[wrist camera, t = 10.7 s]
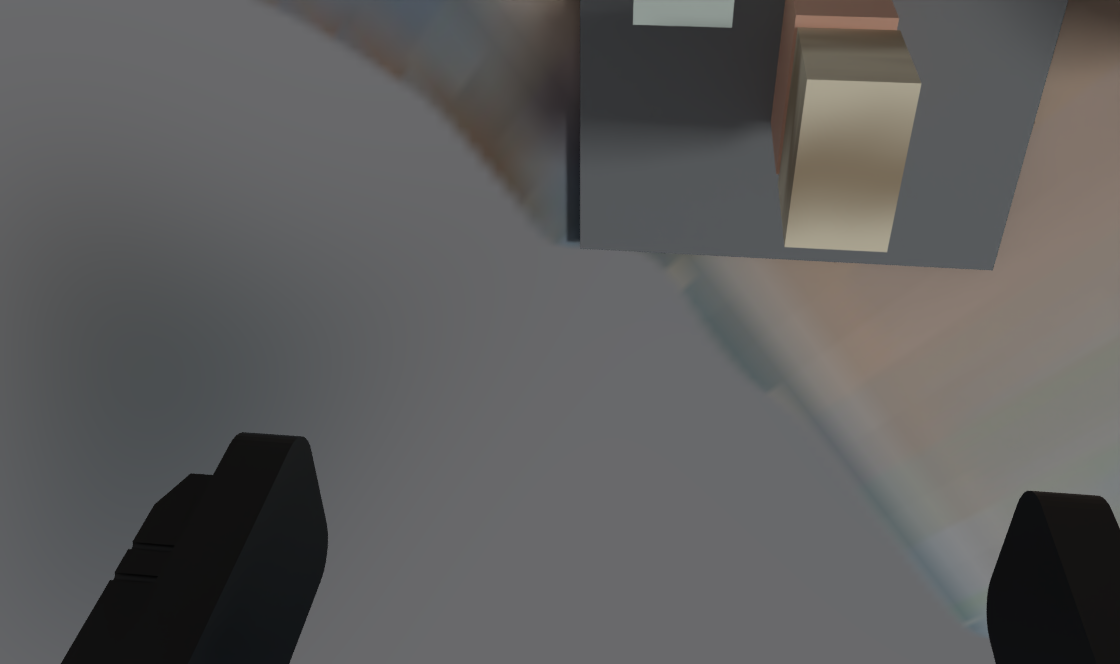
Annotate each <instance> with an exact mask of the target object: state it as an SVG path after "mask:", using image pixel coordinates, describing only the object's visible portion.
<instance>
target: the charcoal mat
mask: <svg viewBox="0 0 1120 664" xmlns="http://www.w3.org/2000/svg"><path fill="white" fill-rule="evenodd" d="M892 2H893V4H894V7H895V9H896V12H897V14H898V16H899V22H898V27H897V30H900V31H901V34H902V36H903V39H904V41H905V44H906V46H907V49H908V51H909V53H910V56H911V58H912V61H913V63H914V66H915V68H916V71H917V73H918V76H919V78H920V81H921V83H922V84H921V89H920V94H919V98H918V103H917V108H916V113H915V118H914V123H913V128H912V133H911V137H910V142H909V147H908V152H907V157H906V162H905V167H904V172H903V177H902V181H901V186H900V191H899V196H898V201H897V206H896V211H895V216H894V220H893V225H892V230H891V235H890V240H889V245H888V250H887V252H871V251H852V250H832V249H813V248H793V247H784V238H783V228H782V219H781V209H780V200H779V190H778V179H779V174H776V168H775V158H774V149H773V139H772V129H771V116H772V108H773V99H774V91H775V82H776V74H777V65H778V57H779V48H780V40H781V31H782V23H783V14H784V6H785V0H734V11H733V22H732V28H726V27H693V26H660V25H633V4H634V0H580V249H599V250H618V251H637V252H656V253H674V254H693V255H712V256H731V257H750V258H769V259H788V260H807V261H826V262H845V263H864V264H883V265H902V266H921V267H940V268H959V269H978V270H993V267H994V264H995V260H996V257H997V253H998V250H999V246H1000V242H1001V239H1002V235H1003V232H1004V228H1005V225H1006V221H1007V217H1008V214H1009V210H1010V207H1011V203H1012V199H1013V196H1014V192H1015V189H1016V185H1017V182H1018V178H1019V174H1020V171H1021V167H1022V164H1023V160H1024V157H1025V153H1026V149H1027V146H1028V142H1029V139H1030V135H1031V132H1032V128H1033V124H1034V121H1035V117H1036V114H1037V110H1038V107H1039V103H1040V99H1041V96H1042V92H1043V89H1044V85H1045V82H1046V78H1047V74H1048V71H1049V67H1050V64H1051V60H1052V57H1053V53H1054V49H1055V46H1056V42H1057V39H1058V35H1059V32H1060V28H1061V24H1062V21H1063V17H1064V14H1065V10H1066V7H1067V3H1068V0H892Z"/></svg>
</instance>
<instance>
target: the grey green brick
mask: <svg viewBox="0 0 1120 664" xmlns="http://www.w3.org/2000/svg"><path fill="white" fill-rule="evenodd" d="M733 11H734V0H634V4H633V25H660V26H693V27H726V28H732V22H733Z"/></svg>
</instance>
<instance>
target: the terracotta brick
mask: <svg viewBox="0 0 1120 664" xmlns="http://www.w3.org/2000/svg"><path fill="white" fill-rule="evenodd" d="M898 22H899V16H898V14H897V12H896V9H895V7H894V4H893V2H892V0H785V6H784V14H783V23H782V31H781V40H780V48H779V57H778V65H777V74H776V82H775V91H774V99H773V108H772V116H771V129H772V139H773V149H774V158H775V168H776V174H779V171H780V163H781V155H782V147H783V140H784V132H785V124H786V116H787V108H788V100H789V92H790V84H791V76H792V68H793V60H794V52H795V44H796V36H797V28H798V27H805V28H839V29H873V30H897V27H898Z"/></svg>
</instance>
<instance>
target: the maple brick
mask: <svg viewBox="0 0 1120 664" xmlns="http://www.w3.org/2000/svg"><path fill="white" fill-rule="evenodd" d="M921 84H922V83H921V81H920V78H919V76H918V73H917V71H916V68H915V66H914V63H913V61H912V58H911V56H910V53H909V51H908V49H907V46H906V44H905V41H904V39H903V36H902V34H901V31H900V30H873V29H839V28H805V27H798V28H797V36H796V44H795V52H794V60H793V68H792V76H791V84H790V92H789V100H788V108H787V116H786V124H785V132H784V140H783V147H782V155H781V163H780V171H779V179H778V190H779V200H780V209H781V219H782V228H783V238H784V247H793V248H813V249H832V250H852V251H871V252H887V250H888V245H889V240H890V235H891V230H892V225H893V220H894V216H895V211H896V206H897V201H898V196H899V191H900V186H901V181H902V177H903V172H904V167H905V162H906V157H907V152H908V147H909V142H910V137H911V133H912V128H913V123H914V118H915V113H916V108H917V103H918V98H919V94H920V89H921Z"/></svg>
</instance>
